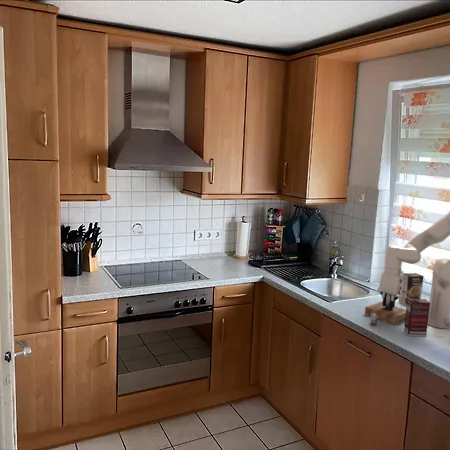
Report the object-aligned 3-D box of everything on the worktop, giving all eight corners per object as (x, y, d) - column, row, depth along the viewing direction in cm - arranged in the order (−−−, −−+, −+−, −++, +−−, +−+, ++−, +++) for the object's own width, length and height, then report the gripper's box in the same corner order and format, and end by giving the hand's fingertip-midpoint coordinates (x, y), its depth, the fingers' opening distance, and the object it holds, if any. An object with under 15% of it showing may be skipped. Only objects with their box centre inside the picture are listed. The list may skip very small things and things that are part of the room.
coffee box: (405, 306, 247) (409, 276, 244) (398, 301, 253) (401, 273, 250) (420, 305, 249) (424, 276, 246) (412, 301, 255) (416, 272, 253)
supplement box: (421, 332, 212) (426, 298, 209) (426, 336, 207) (431, 302, 204) (402, 331, 212) (407, 298, 209) (407, 336, 207) (411, 301, 204)
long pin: (392, 312, 229) (394, 292, 227) (388, 313, 227) (391, 293, 225) (386, 310, 231) (388, 291, 229) (383, 311, 229) (385, 292, 227)
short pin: (378, 325, 218) (379, 314, 217) (374, 326, 216) (375, 316, 215) (372, 322, 220) (373, 312, 219) (368, 324, 218) (370, 314, 218)
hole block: (409, 318, 228) (410, 311, 227) (394, 325, 219) (395, 317, 218) (380, 309, 240) (380, 301, 239) (364, 314, 231) (365, 306, 230)
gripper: (412, 273, 222) (407, 310, 225) (381, 265, 234) (377, 300, 237) (404, 276, 217) (399, 313, 220) (373, 267, 229) (369, 303, 232)
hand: (388, 306), depth 228 cm, fingers closed on long pin, 3 cm apart
